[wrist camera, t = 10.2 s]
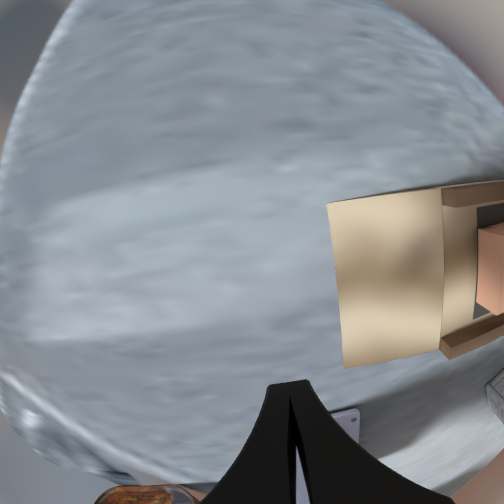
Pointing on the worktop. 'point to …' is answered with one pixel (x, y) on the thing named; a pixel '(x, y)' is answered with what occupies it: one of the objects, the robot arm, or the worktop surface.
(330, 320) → the worktop surface
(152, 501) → the tin
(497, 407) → the medicine box
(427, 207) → the dock
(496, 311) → the peach toy brick
